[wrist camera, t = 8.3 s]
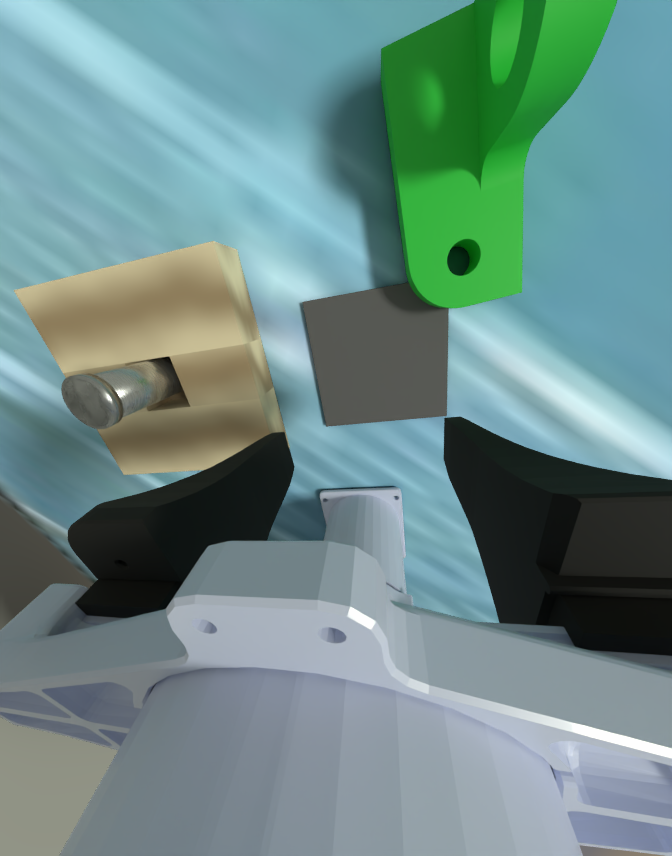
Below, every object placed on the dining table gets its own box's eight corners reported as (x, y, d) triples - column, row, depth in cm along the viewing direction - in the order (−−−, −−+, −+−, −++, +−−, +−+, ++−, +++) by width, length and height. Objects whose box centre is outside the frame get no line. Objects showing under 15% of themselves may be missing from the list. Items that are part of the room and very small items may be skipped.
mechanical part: (380, 81, 14) (384, -158, 7) (504, 23, 13) (673, -351, 5) (412, 318, 18) (434, 324, 11) (506, 293, 17) (601, 283, 10)
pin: (205, 387, 23) (124, 425, 16) (174, 393, 24) (84, 432, 17) (189, 347, 22) (92, 370, 15) (156, 355, 23) (50, 380, 16)
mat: (445, 414, 22) (446, 415, 21) (327, 424, 23) (326, 426, 23) (447, 275, 17) (449, 275, 17) (303, 302, 19) (302, 302, 19)
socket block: (289, 447, 25) (279, 465, 22) (148, 458, 28) (124, 474, 25) (236, 249, 18) (213, 241, 16) (58, 291, 21) (13, 290, 19)
